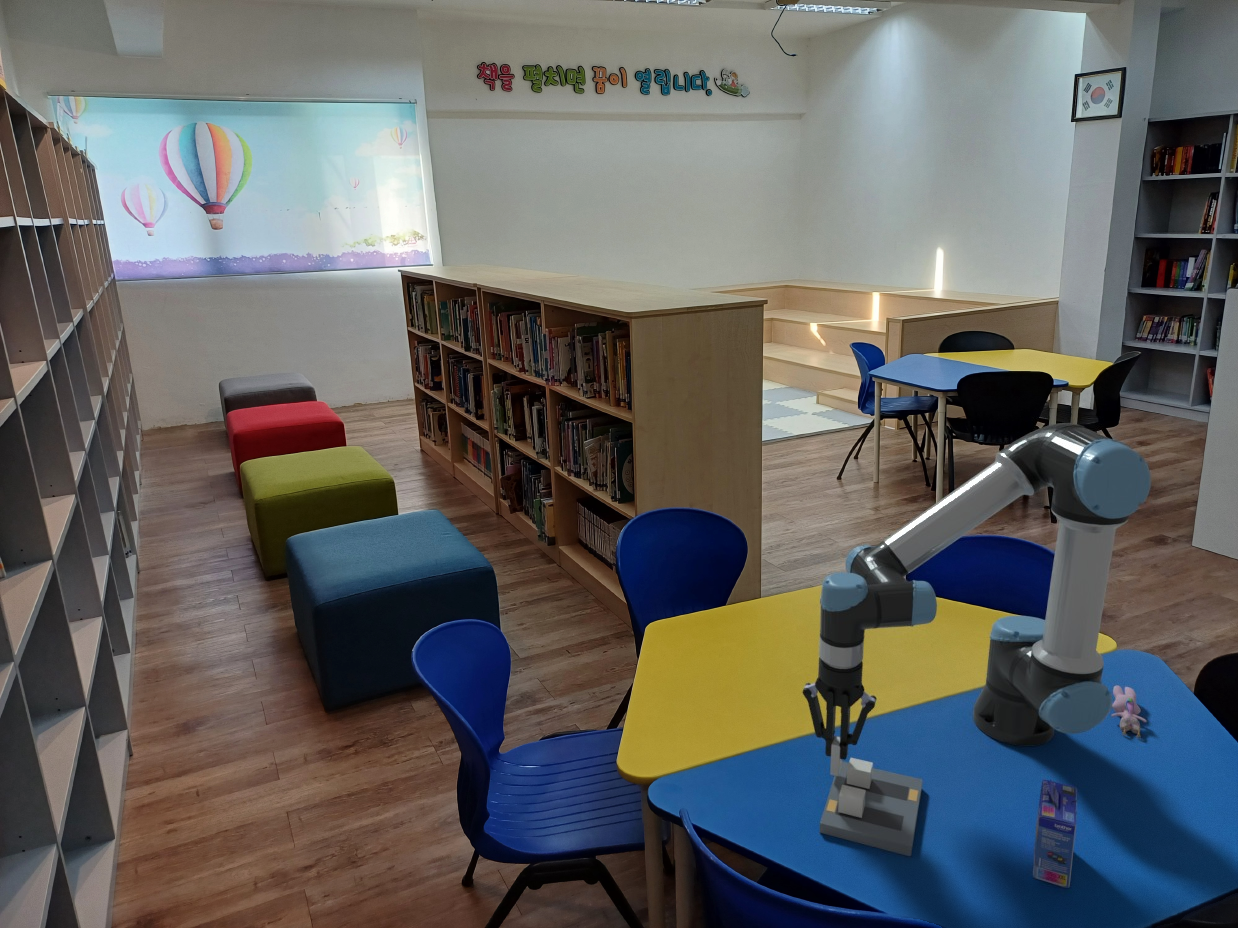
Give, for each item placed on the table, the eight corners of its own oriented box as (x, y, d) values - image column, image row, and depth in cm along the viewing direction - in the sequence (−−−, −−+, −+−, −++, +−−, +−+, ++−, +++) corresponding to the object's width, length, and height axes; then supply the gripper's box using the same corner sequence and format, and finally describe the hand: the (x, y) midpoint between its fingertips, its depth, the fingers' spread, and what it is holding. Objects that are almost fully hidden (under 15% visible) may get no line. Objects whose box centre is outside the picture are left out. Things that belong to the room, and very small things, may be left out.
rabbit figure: (1148, 746, 168) (1137, 694, 181) (1153, 723, 166) (1142, 672, 178) (1111, 739, 171) (1104, 689, 183) (1116, 717, 168) (1108, 667, 180)
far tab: (871, 778, 157) (872, 762, 156) (869, 788, 154) (870, 772, 153) (849, 773, 158) (850, 757, 157) (846, 783, 156) (847, 767, 155)
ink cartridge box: (1033, 837, 145) (1043, 765, 140) (1070, 847, 142) (1081, 774, 138) (1030, 878, 136) (1040, 802, 132) (1069, 889, 134) (1081, 813, 129)
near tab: (864, 806, 150) (865, 789, 149) (861, 817, 147) (862, 800, 146) (841, 800, 152) (842, 784, 150) (838, 811, 149) (839, 795, 148)
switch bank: (921, 788, 157) (922, 778, 156) (910, 856, 142) (911, 846, 141) (838, 769, 163) (839, 760, 162) (819, 832, 148) (820, 822, 147)
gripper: (882, 654, 151) (875, 766, 158) (808, 641, 156) (805, 750, 164) (875, 676, 145) (868, 792, 152) (799, 662, 150) (795, 774, 157)
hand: (835, 770), depth 158 cm, fingers closed
